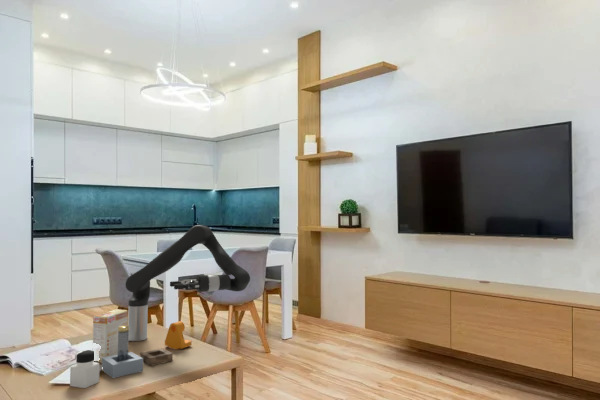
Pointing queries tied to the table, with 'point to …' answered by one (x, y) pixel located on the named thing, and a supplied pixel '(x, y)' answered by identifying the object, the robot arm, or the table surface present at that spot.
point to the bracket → (176, 336)
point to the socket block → (156, 356)
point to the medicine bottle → (84, 370)
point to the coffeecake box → (108, 331)
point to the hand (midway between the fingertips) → (172, 285)
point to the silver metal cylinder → (123, 343)
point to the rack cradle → (122, 365)
